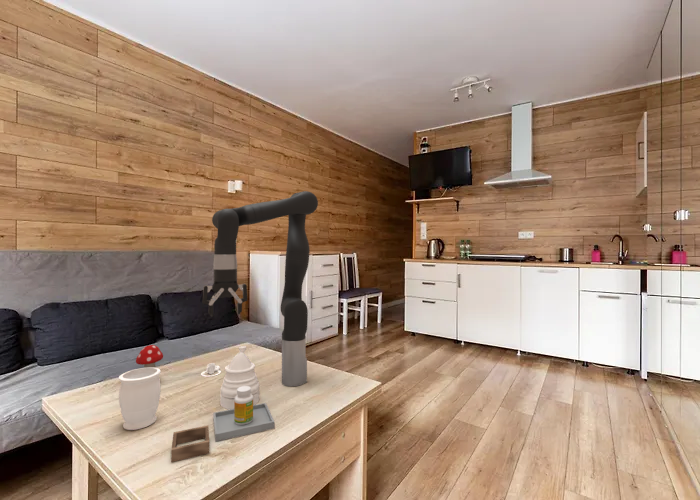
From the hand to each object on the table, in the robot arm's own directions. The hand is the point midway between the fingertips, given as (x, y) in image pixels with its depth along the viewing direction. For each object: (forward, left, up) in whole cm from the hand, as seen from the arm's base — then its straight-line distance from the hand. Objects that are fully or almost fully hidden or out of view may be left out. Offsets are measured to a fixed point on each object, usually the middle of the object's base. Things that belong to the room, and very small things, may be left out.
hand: (225, 315), depth 113 cm
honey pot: (-5, +1, -30) cm, 30 cm away
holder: (+10, +24, -30) cm, 40 cm away
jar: (+24, +4, -30) cm, 39 cm away
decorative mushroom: (+25, -27, -30) cm, 47 cm away
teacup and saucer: (0, -30, -30) cm, 43 cm away
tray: (-4, +17, -30) cm, 34 cm away
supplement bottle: (-4, +17, -29) cm, 34 cm away
